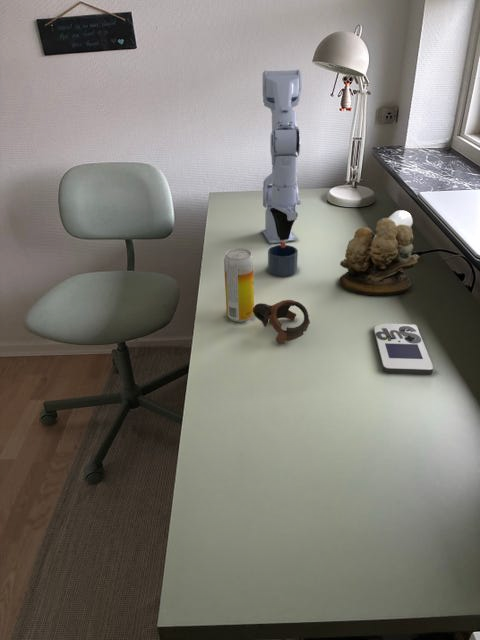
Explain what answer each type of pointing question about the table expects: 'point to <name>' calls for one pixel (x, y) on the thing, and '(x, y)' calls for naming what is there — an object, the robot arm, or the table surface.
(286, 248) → the cup
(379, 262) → the owl figurine
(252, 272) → the beer can
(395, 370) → the handheld game console
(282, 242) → the baton
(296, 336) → the brown knobby curled ring
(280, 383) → the table surface
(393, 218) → the white rounded cylinder
